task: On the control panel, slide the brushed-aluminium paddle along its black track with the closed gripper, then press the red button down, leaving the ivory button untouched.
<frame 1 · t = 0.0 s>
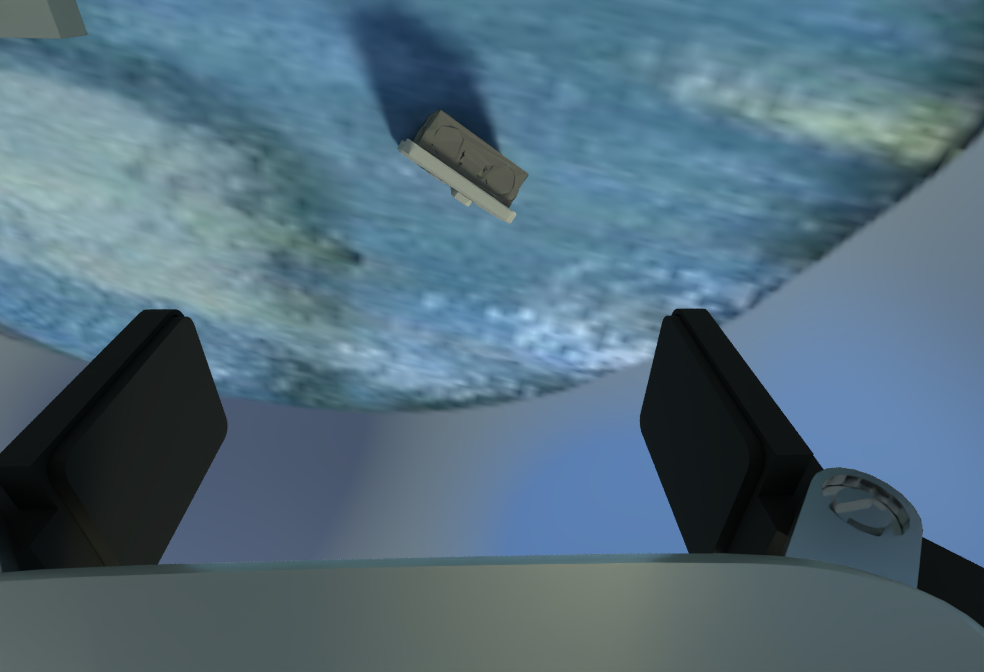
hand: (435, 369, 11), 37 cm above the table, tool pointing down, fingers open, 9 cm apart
electrical switch: (459, 151, 44), on the table
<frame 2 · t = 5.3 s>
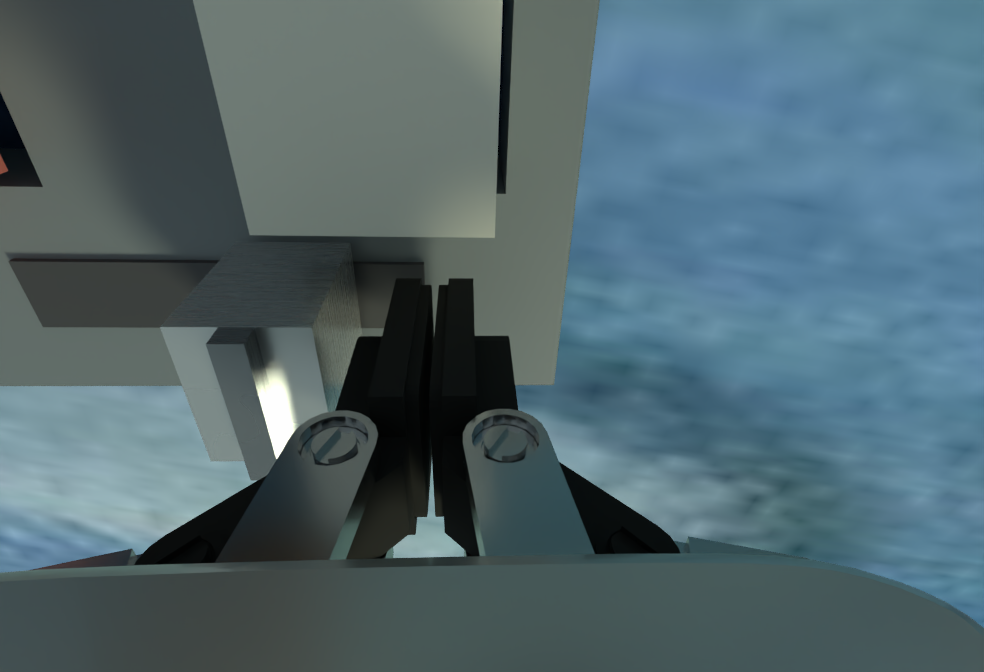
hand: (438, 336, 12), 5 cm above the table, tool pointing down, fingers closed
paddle: (281, 352, 11), point 6 cm above the table, slide at 1.3 cm, touching gripper
panel: (220, 152, 14), on the table
ivory button: (376, 87, 9), point 5 cm above the table, slide at 0.0 cm
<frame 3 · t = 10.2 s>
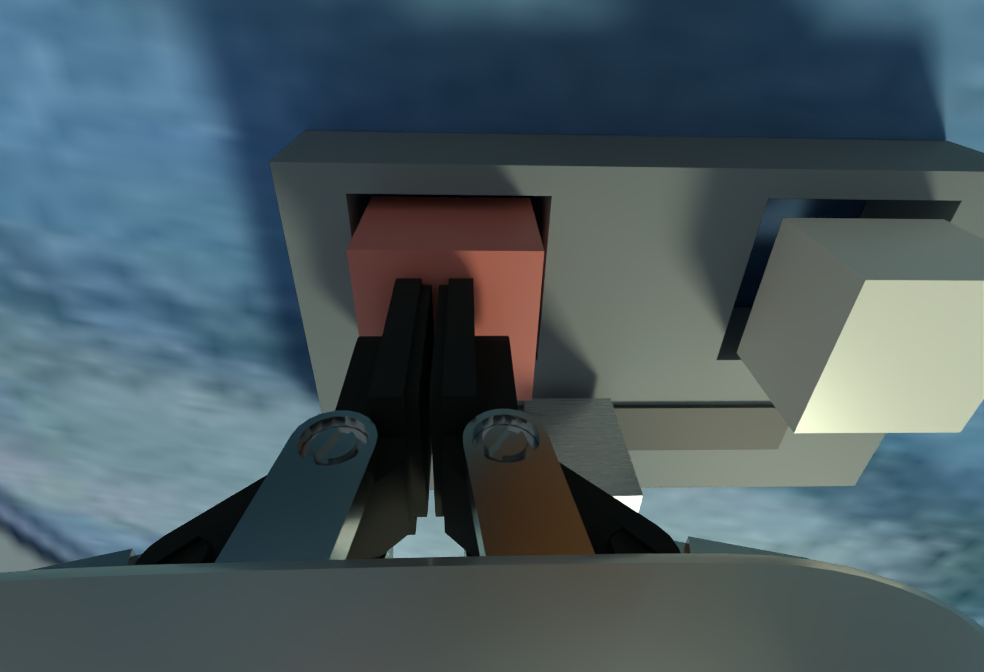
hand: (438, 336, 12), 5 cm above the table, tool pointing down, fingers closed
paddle: (572, 490, 14), point 5 cm above the table, slide at 5.7 cm
red button: (450, 297, 13), point 4 cm above the table, slide at 1.2 cm, touching gripper
panel: (605, 306, 18), on the table
ivory button: (870, 323, 13), point 5 cm above the table, slide at 0.0 cm
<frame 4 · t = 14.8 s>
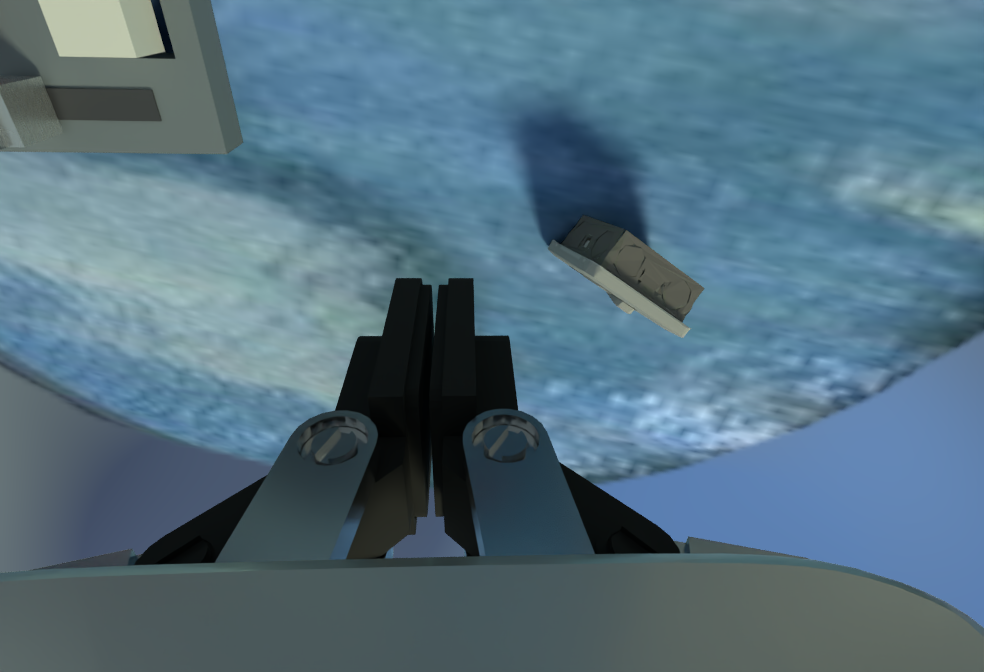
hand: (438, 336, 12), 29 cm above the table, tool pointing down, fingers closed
electrical switch: (606, 248, 43), on the table
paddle: (7, 111, 30), point 5 cm above the table, slide at 5.7 cm
panel: (77, 51, 34), on the table
ivory button: (100, 12, 28), point 5 cm above the table, slide at 0.0 cm
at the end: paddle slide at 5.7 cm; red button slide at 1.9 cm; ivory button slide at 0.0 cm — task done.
